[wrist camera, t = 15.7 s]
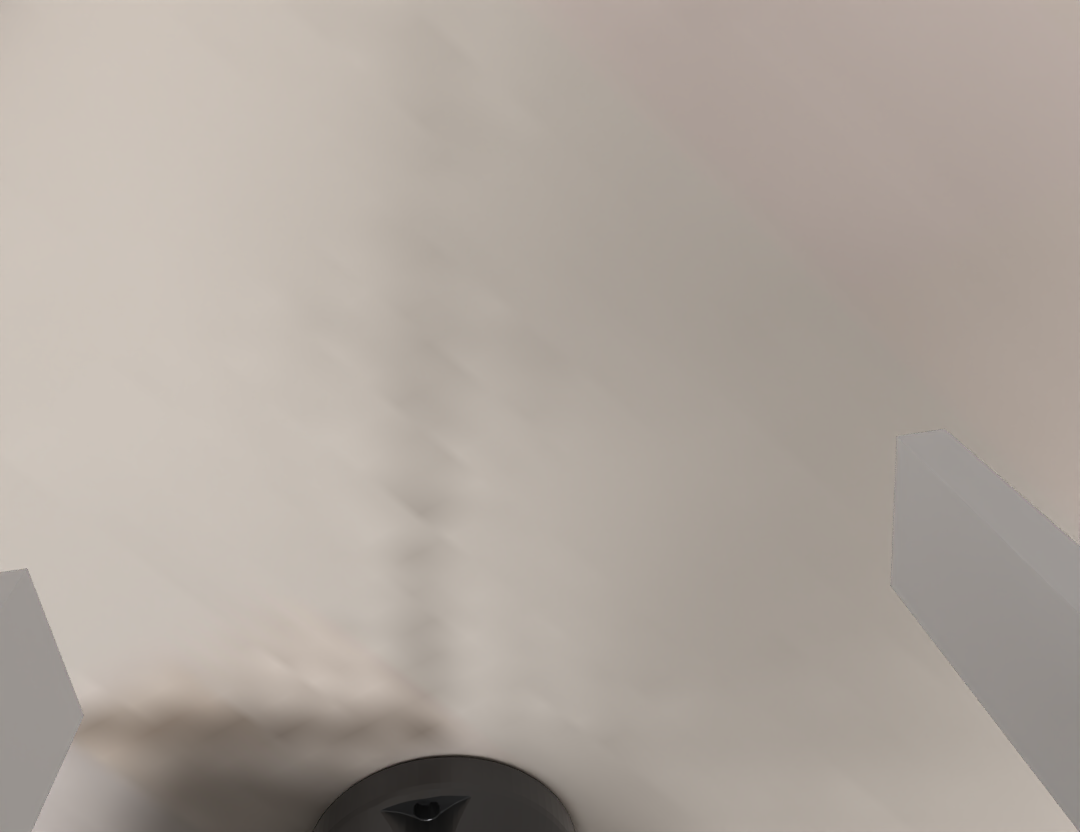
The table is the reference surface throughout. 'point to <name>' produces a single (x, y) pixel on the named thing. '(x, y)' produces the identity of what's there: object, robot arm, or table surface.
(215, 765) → the table surface
